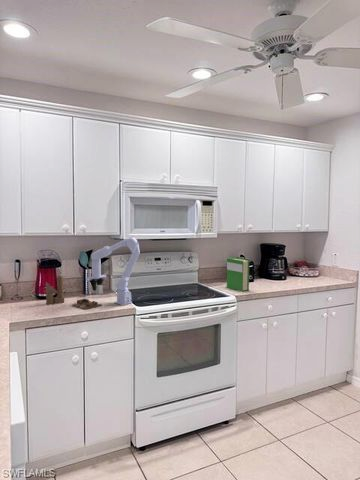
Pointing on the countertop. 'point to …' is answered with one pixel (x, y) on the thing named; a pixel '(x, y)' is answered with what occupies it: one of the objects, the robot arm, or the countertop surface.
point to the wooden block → (51, 290)
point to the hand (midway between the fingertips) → (96, 290)
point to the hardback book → (238, 274)
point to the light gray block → (97, 289)
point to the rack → (86, 304)
